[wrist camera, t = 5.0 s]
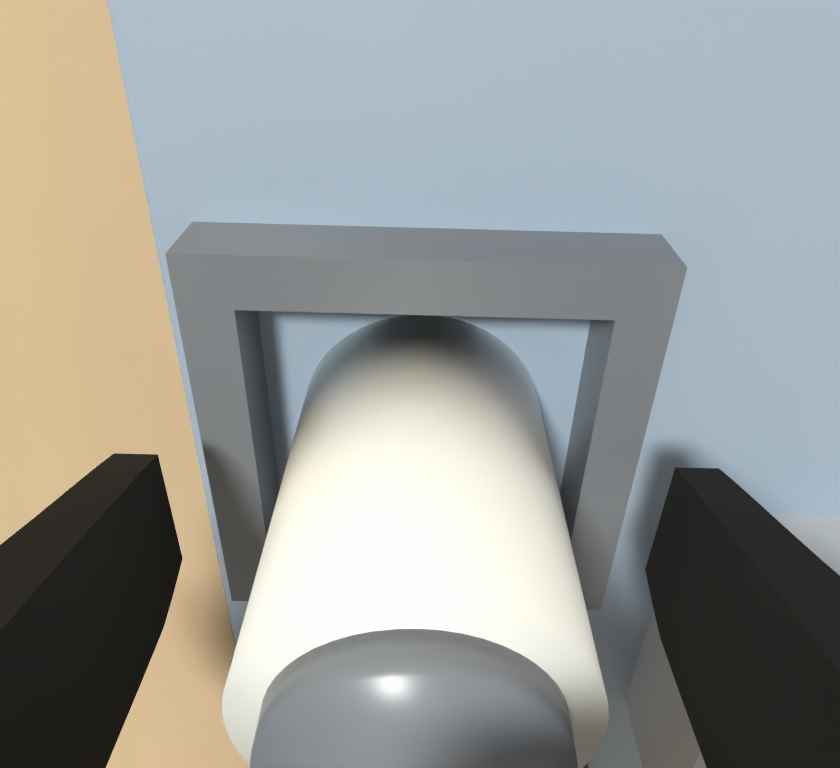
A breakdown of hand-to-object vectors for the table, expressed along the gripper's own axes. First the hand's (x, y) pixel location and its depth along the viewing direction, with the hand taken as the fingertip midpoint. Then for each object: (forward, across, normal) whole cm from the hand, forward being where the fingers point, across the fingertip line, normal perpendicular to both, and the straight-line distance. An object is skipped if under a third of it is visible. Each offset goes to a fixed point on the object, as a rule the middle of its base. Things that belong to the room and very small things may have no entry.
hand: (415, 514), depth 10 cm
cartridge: (+2, 0, 0) cm, 2 cm away
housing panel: (+3, -4, +4) cm, 6 cm away
